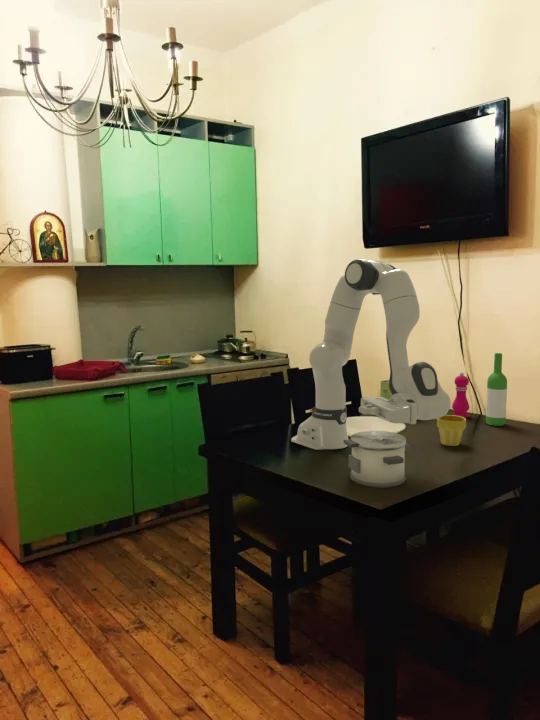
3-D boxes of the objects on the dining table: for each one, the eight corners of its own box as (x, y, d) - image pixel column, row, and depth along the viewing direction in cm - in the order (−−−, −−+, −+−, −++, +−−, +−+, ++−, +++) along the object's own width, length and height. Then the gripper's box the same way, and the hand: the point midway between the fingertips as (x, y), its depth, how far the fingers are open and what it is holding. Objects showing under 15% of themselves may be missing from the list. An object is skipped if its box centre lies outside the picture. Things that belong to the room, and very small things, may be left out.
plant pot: (467, 448, 209) (467, 421, 207) (437, 446, 211) (438, 420, 209) (463, 440, 219) (464, 415, 217) (435, 439, 221) (435, 414, 219)
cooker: (387, 464, 191) (388, 432, 190) (424, 485, 171) (424, 449, 170) (337, 470, 186) (337, 437, 184) (369, 493, 166) (369, 456, 164)
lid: (388, 433, 187) (388, 428, 187) (416, 446, 172) (416, 442, 171) (335, 439, 181) (335, 434, 181) (359, 453, 166) (359, 448, 166)
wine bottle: (495, 427, 237) (498, 355, 233) (481, 423, 244) (484, 353, 240) (509, 425, 240) (512, 353, 236) (495, 421, 247) (498, 351, 243)
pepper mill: (470, 415, 257) (472, 371, 255) (466, 419, 251) (468, 373, 249) (454, 414, 261) (455, 370, 259) (450, 417, 255) (451, 372, 253)
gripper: (384, 391, 187) (346, 393, 183) (419, 404, 168) (377, 407, 164) (384, 410, 188) (345, 412, 184) (418, 425, 169) (376, 429, 165)
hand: (360, 410), depth 174 cm, fingers closed
